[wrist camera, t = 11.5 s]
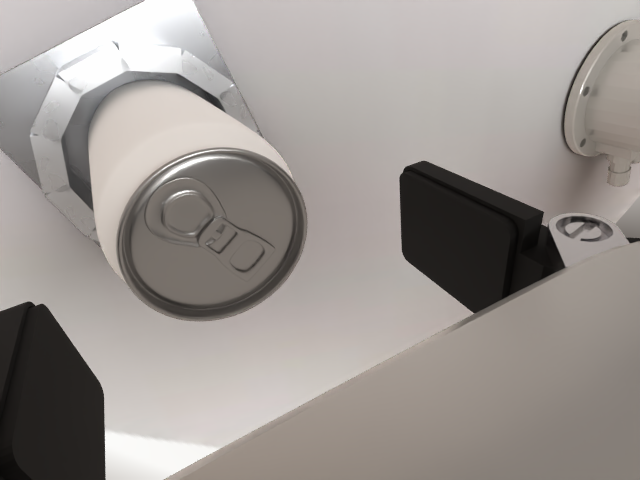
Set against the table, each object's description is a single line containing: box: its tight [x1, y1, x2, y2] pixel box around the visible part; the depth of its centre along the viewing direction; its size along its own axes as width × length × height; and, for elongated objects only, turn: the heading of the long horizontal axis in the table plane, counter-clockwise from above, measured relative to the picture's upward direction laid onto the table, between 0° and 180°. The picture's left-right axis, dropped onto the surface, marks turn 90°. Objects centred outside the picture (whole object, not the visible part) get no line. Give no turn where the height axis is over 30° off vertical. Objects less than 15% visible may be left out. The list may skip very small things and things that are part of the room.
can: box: [88, 80, 307, 321], centre depth 16 cm, size 6×6×12 cm
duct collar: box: [0, 0, 264, 247], centre depth 20 cm, size 11×11×4 cm
